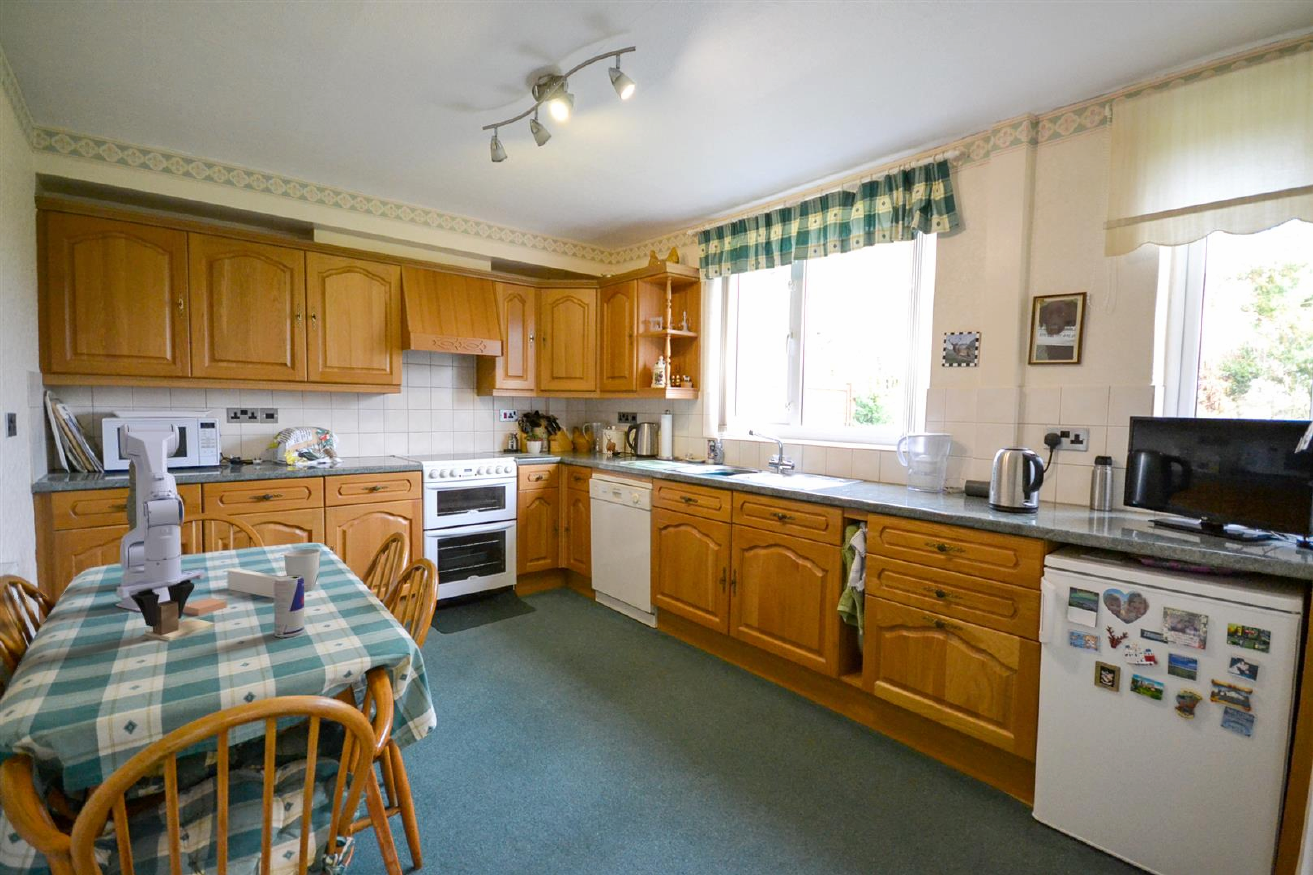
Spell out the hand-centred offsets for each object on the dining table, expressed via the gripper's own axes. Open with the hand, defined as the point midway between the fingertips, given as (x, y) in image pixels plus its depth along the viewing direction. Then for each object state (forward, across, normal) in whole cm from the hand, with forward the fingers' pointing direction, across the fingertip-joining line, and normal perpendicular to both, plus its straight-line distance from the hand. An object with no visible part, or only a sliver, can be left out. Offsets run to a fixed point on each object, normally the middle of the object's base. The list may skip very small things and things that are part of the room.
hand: (163, 621), depth 117 cm
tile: (+3, +13, +9) cm, 16 cm away
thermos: (+3, +20, +43) cm, 48 cm away
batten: (+3, +26, +9) cm, 28 cm away
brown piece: (+3, +3, 0) cm, 4 cm away
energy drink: (+3, +11, -22) cm, 25 cm away
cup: (+3, +33, +2) cm, 33 cm away
